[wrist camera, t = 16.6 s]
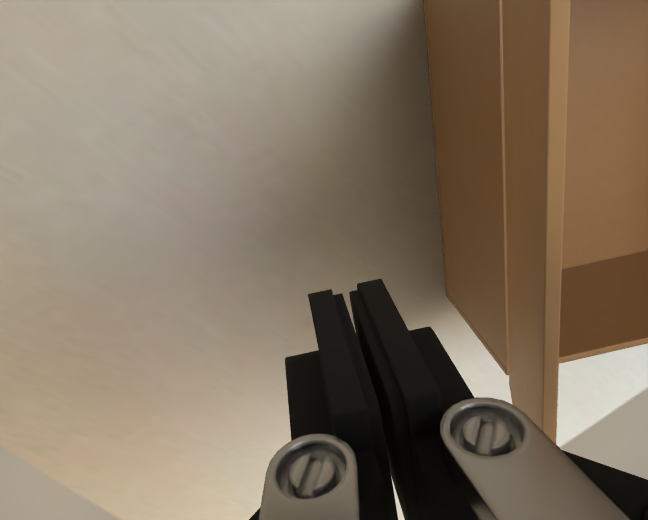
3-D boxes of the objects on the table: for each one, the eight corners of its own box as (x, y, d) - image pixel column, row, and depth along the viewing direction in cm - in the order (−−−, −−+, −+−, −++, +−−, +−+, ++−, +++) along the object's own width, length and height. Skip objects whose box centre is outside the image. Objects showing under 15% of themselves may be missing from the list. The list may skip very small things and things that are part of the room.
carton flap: (517, 384, 19) (509, 384, 19) (513, -48, 13) (500, -45, 13) (552, 567, 13) (539, 566, 13) (574, -97, 7) (550, -91, 7)
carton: (446, 296, 26) (506, 375, 20) (422, -18, 20) (497, -45, 14) (708, 238, 27) (846, 298, 20) (762, -82, 20) (982, -137, 14)
